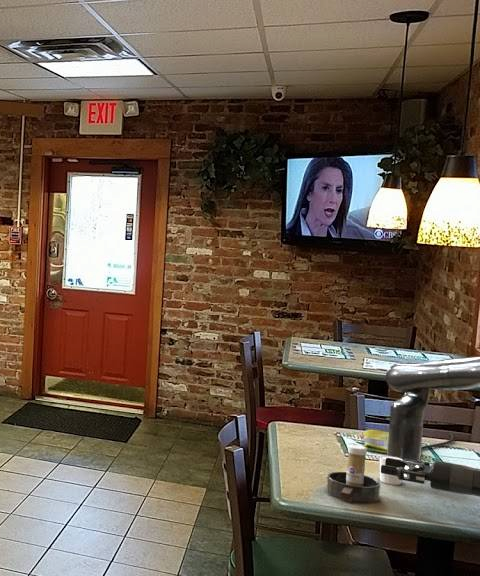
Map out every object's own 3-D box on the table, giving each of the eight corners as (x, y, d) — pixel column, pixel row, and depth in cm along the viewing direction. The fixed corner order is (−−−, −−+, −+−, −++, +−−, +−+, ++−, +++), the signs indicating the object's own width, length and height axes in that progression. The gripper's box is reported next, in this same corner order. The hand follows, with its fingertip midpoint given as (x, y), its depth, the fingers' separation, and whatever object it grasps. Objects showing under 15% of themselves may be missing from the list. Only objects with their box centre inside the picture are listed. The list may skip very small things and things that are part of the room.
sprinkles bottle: (343, 493, 215) (346, 446, 214) (347, 489, 219) (350, 443, 218) (360, 497, 212) (364, 449, 211) (364, 493, 216) (368, 446, 215)
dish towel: (362, 450, 261) (362, 442, 261) (364, 434, 282) (364, 427, 282) (421, 459, 253) (422, 451, 252) (418, 442, 274) (419, 434, 274)
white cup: (394, 486, 224) (396, 463, 224) (372, 479, 230) (374, 456, 230) (408, 483, 227) (410, 460, 227) (386, 476, 234) (388, 454, 233)
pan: (331, 483, 225) (332, 468, 225) (382, 494, 217) (383, 478, 217) (322, 495, 214) (323, 480, 214) (374, 507, 207) (376, 490, 206)
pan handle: (344, 499, 212) (345, 486, 211) (352, 501, 210) (353, 488, 210) (339, 506, 207) (340, 492, 206) (348, 508, 205) (349, 493, 205)
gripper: (455, 457, 207) (388, 446, 216) (451, 470, 195) (380, 457, 205) (453, 484, 208) (385, 472, 217) (449, 499, 196) (378, 484, 206)
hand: (383, 465), depth 211 cm, fingers open, 8 cm apart
